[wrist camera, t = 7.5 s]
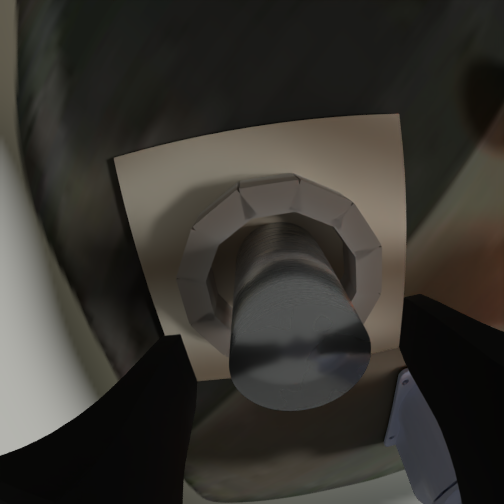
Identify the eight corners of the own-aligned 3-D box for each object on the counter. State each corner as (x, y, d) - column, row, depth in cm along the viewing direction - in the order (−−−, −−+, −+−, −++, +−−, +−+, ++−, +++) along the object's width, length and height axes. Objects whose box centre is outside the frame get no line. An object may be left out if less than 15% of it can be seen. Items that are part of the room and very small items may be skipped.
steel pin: (320, 297, 15) (360, 401, 9) (239, 303, 16) (236, 414, 9) (321, 219, 14) (380, 296, 8) (232, 225, 14) (219, 310, 8)
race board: (394, 341, 17) (410, 368, 15) (185, 375, 18) (178, 406, 16) (393, 114, 13) (420, 112, 10) (118, 156, 13) (94, 163, 11)
